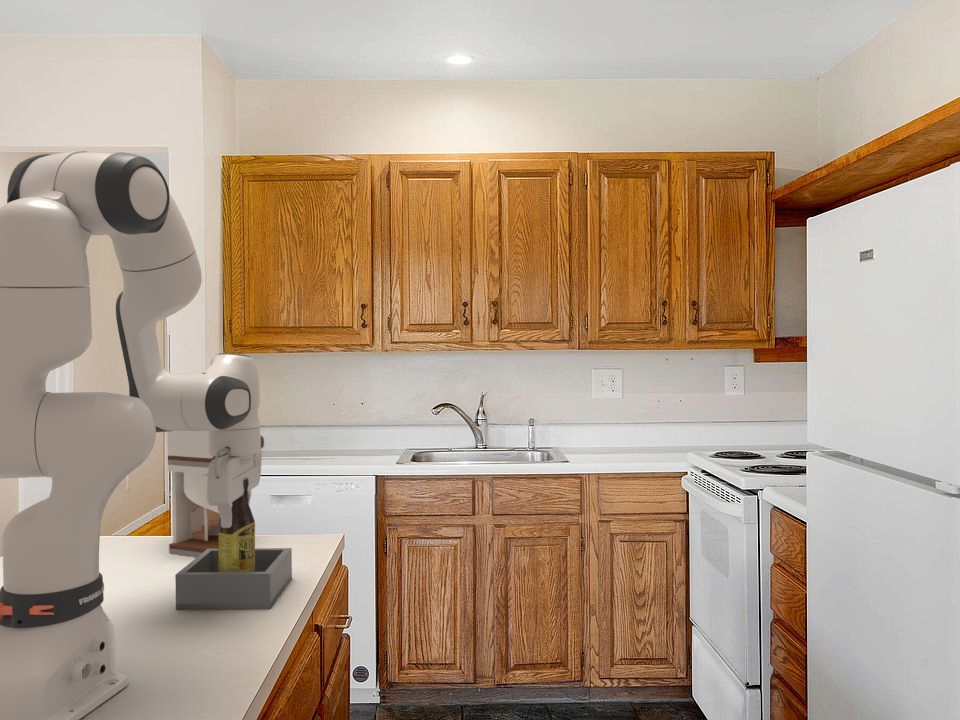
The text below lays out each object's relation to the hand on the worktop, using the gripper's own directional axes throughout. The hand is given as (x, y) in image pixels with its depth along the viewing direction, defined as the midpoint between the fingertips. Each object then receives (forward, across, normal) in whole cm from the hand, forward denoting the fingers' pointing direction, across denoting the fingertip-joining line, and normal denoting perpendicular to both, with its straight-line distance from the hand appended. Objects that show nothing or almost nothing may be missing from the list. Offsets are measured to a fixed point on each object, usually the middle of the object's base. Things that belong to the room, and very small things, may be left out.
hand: (235, 520), depth 138 cm
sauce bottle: (+12, 0, 0) cm, 12 cm away
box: (+13, 0, 0) cm, 13 cm away
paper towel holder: (+13, +29, +15) cm, 35 cm away
